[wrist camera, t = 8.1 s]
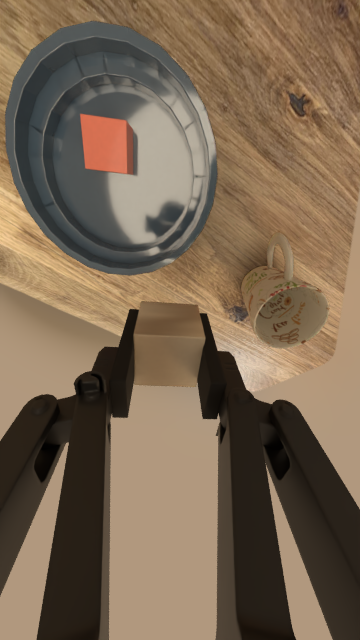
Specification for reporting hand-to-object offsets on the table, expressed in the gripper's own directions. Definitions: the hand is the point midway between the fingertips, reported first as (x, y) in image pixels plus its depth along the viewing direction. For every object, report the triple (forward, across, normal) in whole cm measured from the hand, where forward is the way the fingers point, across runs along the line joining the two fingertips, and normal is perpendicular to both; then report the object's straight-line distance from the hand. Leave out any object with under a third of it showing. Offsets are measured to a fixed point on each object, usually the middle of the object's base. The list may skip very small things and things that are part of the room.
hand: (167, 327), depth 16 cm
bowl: (+17, -6, +9) cm, 20 cm away
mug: (+17, +14, -1) cm, 22 cm away
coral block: (+17, -6, +11) cm, 21 cm away
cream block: (0, 0, 0) cm, 0 cm away
